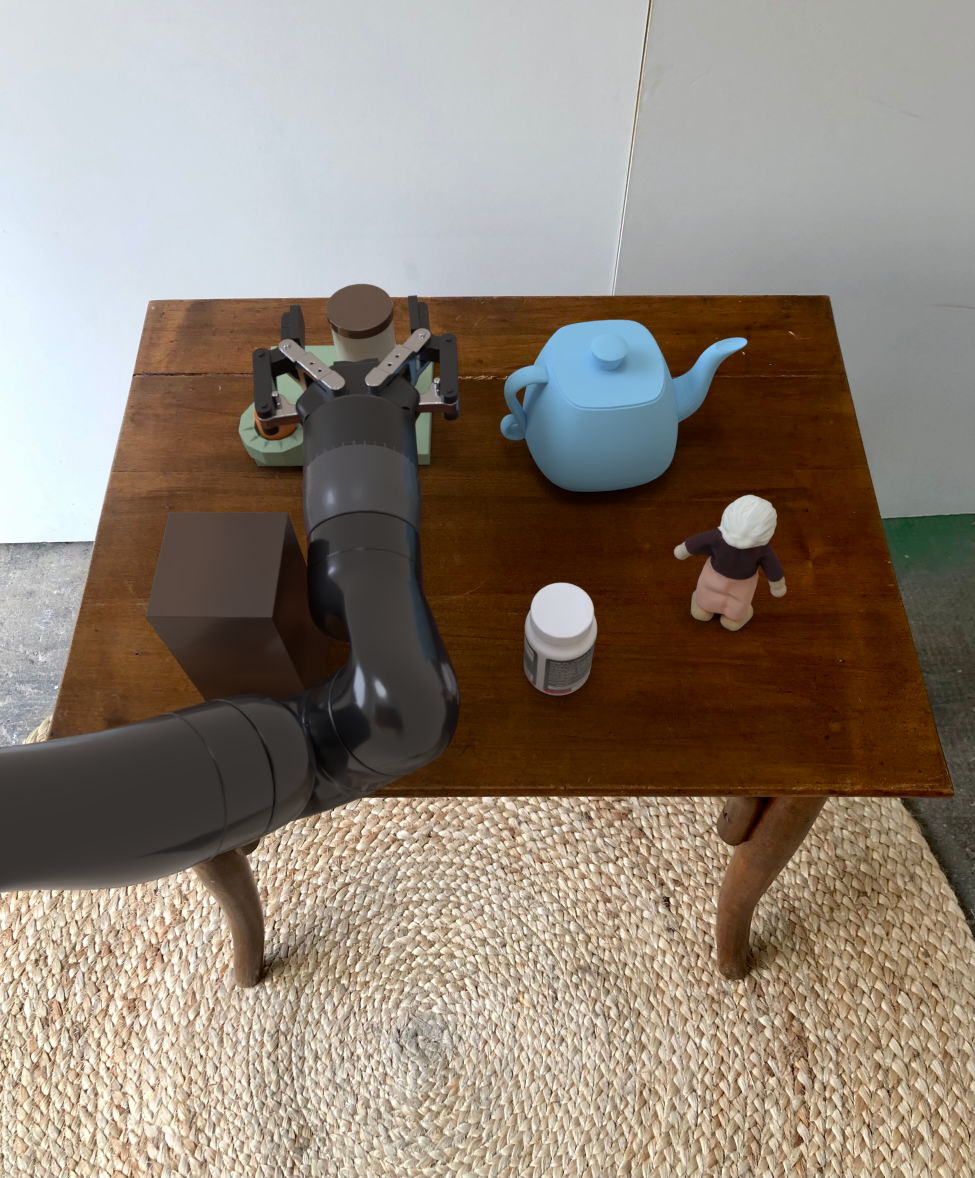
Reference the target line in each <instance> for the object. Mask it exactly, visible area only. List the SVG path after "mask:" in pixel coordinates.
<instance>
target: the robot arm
mask: <svg viewBox="0 0 975 1178" xmlns="http://www.w3.org/2000/svg"><path fill="white" fill-rule="evenodd" d="M407 302H408V303H407V304H408V305H407V306H408V316H409V329H410V336H409V337H408V338H407V339H406V340H405V341H404V342H403V344H399V343H397V346H396V347H395V348H394V349H393V350H392V351H391V352H390V353H389V355H388V356H387V357H386V358H385V359H384V360H383V361H382V362H381V361H378V358H371V359H365V360H361V361H357V362H352V361H334V362H333V365H331V366H329V367H328V366H326V365H325V364H324V363H323V362H322V361H321V360H320V359H318V358H317V357H316V356H315V355H314V354H313V353H311V352H308V353H307V352H306V351H305V346H306V325H305V324H306V323H305V319H304V318H305V317H304V314H303V310H302V306H301V304H300V303H297V304H296V303H295V304H290V305H289V311H286V312H283V313H282V316H281V318H280V342H279V343H278V345H277V346H278V347H277V348H275V349H272V350H271V349H268V348H266V347H258V348H256V349H254V350H253V352H252V354H251V355H252V356H251V357H252V358H251V359H252V380H253V381H252V382H253V403H254V407H255V410H256V413H257V416H258V419H259V422H260V425H261V427H262V430H263V433H264V434H265V435H268V436H272V435H275V434H277V433H278V432H279V430H280V426H282V425H290V424H297V423H300V424H301V426H302V427H303V466H302V516H303V525H304V529H305V530H304V531H305V536H306V565H307V599H308V606H309V611H310V616H311V618H312V620H313V622H314V624H315V626H316V627H317V628H318V629H319V630H320V631H321V632H322V633H323V634H325V635H326V636H328V637H329V639H331V640H335V641H337V642H341V643H345V644H348V654H347V659H346V662H345V663H344V664H343V665H341V666H340V667H339V668H337V669H336V670H334V671H333V672H331V673H330V674H329V675H327V676H325V678H324V679H322V680H321V681H319V682H318V683H317V684H315V685H313V686H311V687H309V688H307V689H305V690H302V691H300V692H297V693H295V694H292V695H289V696H287V697H284V698H280V699H277V698H275V697H272V696H268V695H265V694H259V693H248V694H239V695H232V696H227V697H223V698H219V699H214V700H211V701H207V702H206V701H203V702H199V703H196V704H193V705H189V706H188V705H187V706H185V707H182V708H178V709H173V710H170V711H166V712H163V713H160V714H155V715H152V716H148V717H143V718H142V719H138V720H133V721H131V722H126V723H123V724H120V725H116V726H111V727H107V728H103V729H98V730H94V731H90V732H89V731H88V732H86V733H85V732H84V733H80V734H75V735H70V736H64V737H59V738H54V739H49V740H41V741H36V742H29V743H22V744H15V745H7V746H0V894H2V893H4V894H5V893H12V892H13V893H14V892H15V893H16V892H27V891H28V892H29V891H97V890H99V891H100V890H111V889H120V888H126V887H127V888H128V887H133V886H137V885H143V884H147V883H150V882H151V883H152V882H155V881H158V880H161V879H164V878H165V879H166V878H168V877H170V876H173V875H177V874H179V873H181V872H185V871H187V870H189V869H192V868H194V867H197V866H199V865H201V864H205V863H206V862H208V861H211V860H214V859H216V858H218V857H221V856H223V855H226V854H227V853H231V852H232V851H235V850H237V849H240V848H242V847H244V846H247V845H249V844H251V843H254V842H255V841H258V840H259V839H262V838H264V837H266V836H268V835H270V834H273V833H274V832H276V831H278V830H280V829H281V828H283V827H285V826H286V825H288V824H289V823H292V822H295V821H299V820H303V819H306V818H309V817H313V816H317V815H319V814H322V813H325V812H328V811H331V810H335V809H337V808H340V807H342V806H345V805H347V804H350V803H352V802H355V801H357V800H360V799H362V798H365V797H367V796H369V795H371V794H373V793H375V792H377V791H379V790H382V789H384V788H385V787H388V786H389V785H390V784H392V783H393V784H394V782H397V781H399V780H400V779H403V778H405V777H406V776H408V775H410V774H412V773H415V772H416V771H418V770H420V769H422V768H424V767H426V766H428V765H430V764H432V763H434V762H435V761H436V760H437V759H438V758H440V757H441V756H442V755H443V754H444V753H445V752H446V751H447V749H448V748H449V746H450V745H451V744H452V741H453V739H454V736H455V734H456V731H457V727H458V724H459V718H460V711H461V692H460V685H459V681H458V677H457V674H456V671H455V668H454V665H453V663H452V660H451V657H450V655H449V653H448V650H447V647H446V645H445V643H444V639H443V638H442V635H441V632H440V629H439V626H438V624H437V620H436V619H435V616H434V614H433V613H434V612H433V611H432V609H431V607H430V604H429V602H428V599H427V596H426V594H425V589H424V570H423V569H424V567H423V556H422V542H421V530H422V529H421V528H422V517H423V504H422V503H423V491H422V487H421V478H420V477H421V476H420V465H419V463H418V451H417V438H416V421H417V419H418V417H419V416H420V414H421V413H432V414H433V413H441V415H442V418H443V419H444V420H445V421H448V422H450V421H451V422H452V421H456V420H457V419H458V418H460V388H459V386H460V385H459V384H460V383H459V359H458V342H457V341H458V340H457V339H458V338H457V336H456V335H455V333H453V332H452V333H451V332H445V333H443V334H441V335H440V336H439V335H436V334H434V333H433V332H432V331H431V326H430V315H429V306H428V304H427V303H426V302H425V301H419V300H418V294H413V295H407ZM431 362H434V363H435V364H439V376H438V377H433V382H432V383H431V384H430V386H429V389H428V391H427V392H425V393H423V394H419V392H418V390H417V389H416V388H415V386H416V384H417V382H418V378H419V376H420V375H421V374H422V372H423V371H424V370H425V369H426V368H427V367H428V366H429V364H430V363H431ZM283 374H287V375H289V376H290V377H291V378H292V379H293V380H294V381H295V382H296V383H297V384H298V385H300V386H301V388H302V390H303V391H304V392H303V394H302V395H301V396H300V397H299V398H298V400H297V401H296V404H295V405H294V404H290V403H288V402H287V401H286V398H285V396H284V395H281V394H279V392H278V385H277V376H280V375H283Z"/></svg>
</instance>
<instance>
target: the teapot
mask: <svg viewBox="0 0 975 1178" xmlns="http://www.w3.org/2000/svg"><path fill="white" fill-rule="evenodd" d="M747 344H748V340H747V339H746V338H744V337H730V338H724V339H722V340H719V341H716V342H715V343H713V344H712V345H710V346H709V347H707V348H706V349H705V350H704V351H703V352H702V354H700V356H699V357H698V358H697V360H696V362H695V363H694V365H693V366H692V367H691V368H690V369H689V370H688V371H687V372H685V373H684V374H682V375H680V376H678V377H675V378H672V375H671V373H670V369H669V367H668V364H667V362H666V359H665V357H664V355H663V353H662V350H661V348H660V347H659V345H658V343H657V341H656V339H655V338H654V336H653V334H652V333H651V332H650V331H649V329H648V328H647V327H646V326H644V325H643V324H641V323H639V322H637V321H634V320H630V319H629V320H628V319H604V320H602V319H601V320H591V321H583V322H577V323H571V324H567V325H564V326H562V327H560V328H558V329H557V330H556V331H555V332H554V333H553V334H552V336H551V337H550V338H549V339H548V340H547V342H546V343H545V345H544V347H543V348H542V349H541V350H540V352H539V355H538V356H537V357H536V360H535V361H534V363H533V365H528V366H524V367H521V368H520V369H517V370H515V371H514V372H513V373H511V374H510V375H509V377H508V378H507V379H506V381H505V384H504V386H503V387H504V388H503V390H504V391H503V394H504V399H505V402H506V405H507V407H508V410H509V411H510V412H511V414H507V415H505V416H504V417H503V418H502V420H501V421H500V426H499V427H500V432H501V434H502V435H503V437H505V438H506V439H507V440H511V441H521V440H524V439H525V441H526V444H527V447H528V450H529V452H530V454H531V457H532V459H533V460H534V462H535V464H536V466H537V467H538V469H539V470H540V471H541V472H542V474H543V475H544V476H545V478H547V480H549V481H550V482H551V483H552V484H554V485H556V486H557V487H559V488H561V489H563V490H566V491H570V492H579V493H580V492H582V493H588V492H589V493H591V492H592V493H593V492H594V493H595V492H610V491H618V490H623V489H630V488H635V487H638V486H641V485H645V484H648V483H649V482H651V481H653V480H656V479H657V478H659V477H660V476H661V475H663V474H664V473H665V472H666V470H667V469H668V468H669V467H670V466H671V464H672V461H673V459H674V455H675V452H676V446H677V441H678V434H679V433H678V432H679V431H678V429H679V423H680V422H683V421H684V420H686V419H687V418H689V417H690V416H691V415H693V414H694V413H696V411H698V409H699V408H700V407H701V406H702V404H703V402H704V401H705V399H706V397H707V394H708V392H709V389H710V387H711V384H712V381H713V378H714V375H715V373H716V372H717V370H718V368H719V366H720V365H721V363H722V362H723V361H724V360H726V359H727V358H728V357H729V356H731V355H733V354H734V353H736V352H738V351H739V350H742V349H743V348H744V347H746V345H747ZM525 387H526V388H525ZM523 388H525V392H524V395H523V396H524V397H523V403H522V406H521V404H520V402H519V400H518V398H517V393H518V392H519V391H520V390H522V389H523Z"/></svg>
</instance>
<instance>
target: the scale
mask: <svg viewBox="0 0 975 1178" xmlns="http://www.w3.org/2000/svg"><path fill="white" fill-rule="evenodd" d="M277 347H278V345H271V346H270V350H272V349H275V348H277ZM305 351H306V352H307V353H308V352H311V353H313V354H314V355H315V356H316V357H317V358H318V359H320V360H321V361H322V362H323V363H324V364H325V365H326V366H328V367H329V366H331V365H333V362H334V361H338V360H337V355H336V350H335V346H334V345H305ZM434 363H435V362H431V363H430V364H429V366H428V367H427V368H426V369H425V370H424V371H423V372H422V374H421V375H420V376H419V378H418V382H417V384H416V386H415V388H416V389H417V390H418V392H419V394H423V393H425V392H427V391H428V389H429V386H430V384H431V383H432V382H434V368H435V367H434V366H435V365H434ZM277 385H278V392H279V394H281V395H284V396H285V398H286V400H287V401H288V402H289V403H290V404H294V405H295V404H296V401H297V400H298V398H299V397H300V396H301V395H302V394H303V392H304V391H303V390H302V388H301V386H300V385H298V384H297V383H296V382H295V381H294V380H293V379H292V378H291V377H290V376H289V375H287V374H283V375H280V376H277ZM254 410H255V407H254V402H252V403H251V404H250V406H248V408H247V409H246V410H245V411H244V412H243V413H242V414H241V416H240V419H239V420H240V422H239V427H238V433H239V436H240V439H241V442H242V444H243V446H244V448H245V450H246V452H247V453H248V454H249V457H250V458H252V459H254V461H255V463H256V466H257V467H303V427H302V426H301V424H300V423H297V424H296V428H295V430H294V432H293V433H292V434H291V435H290V436H288V437H286V438H284V439H281V440H270V439H267V438H265V437H264V436H262V435H261V433H260V431H259V429H258V426H257V423H256V420H255V417H254ZM432 420H433V413H421V414H420V416H419V417H418V419H417V421H416V438H417V451H418V463H419V466H420V465H431V449H432V448H431V447H432V446H431V445H432V424H433V423H432V422H433V421H432Z"/></svg>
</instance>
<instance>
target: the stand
mask: <svg viewBox="0 0 975 1178" xmlns="http://www.w3.org/2000/svg"><path fill="white" fill-rule="evenodd" d="M144 617H145V619H146V620H147V621H148V623H149V624H150V626H151V627H152V629H153V630H154V631H155V633H156V634H157V636H158V637H159V638H160V639H161V642H162V643H163V644H164V646H165V647H166V648H167V650H168V651H169V653H170V654H171V655H172V656H173V658H174V659H175V661H176V662H177V663H178V665H179V666H180V667H181V669H182V671H184V674H185V675H186V676H187V677H188V679H189V680H190V682H191V683H192V684H193V686H194V687H195V689H196V690H197V691H198V693H199V694H200V695H201V697H202V698H203V700H204V702H207V701H211V700H214V699H219V698H223V697H227V696H232V695H239V694H248V693H259V694H265V695H268V696H272V697H275V698H277V699H280V698H284V697H287V696H289V695H292V694H295V693H297V692H300V691H302V690H305V689H307V688H309V687H311V686H313V685H315V684H317V683H318V682H319V681H321V680H322V679H324V678H326V670H327V660H328V651H329V643H330V637H328V636H326V635H325V634H323V633H322V632H321V631H320V630H319V629H318V628H317V627H316V626H315V624H314V622H313V620H312V618H311V616H310V611H309V606H308V599H307V561H306V560H305V557H304V554H303V552H302V548H301V545H300V543H299V539H298V537H297V534H296V532H295V529H294V526H293V523H292V520H291V517H290V515H289V512H287V511H284V512H282V511H280V512H279V511H256V512H255V511H169V512H168V515H167V520H166V524H165V529H164V533H163V537H162V541H161V545H160V550H159V554H158V559H157V563H156V567H155V573H154V577H153V581H152V585H151V589H150V594H149V598H148V601H147V607H146V611H145V616H144Z"/></svg>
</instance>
